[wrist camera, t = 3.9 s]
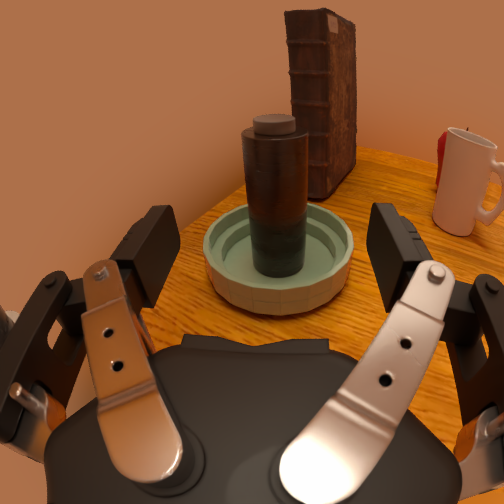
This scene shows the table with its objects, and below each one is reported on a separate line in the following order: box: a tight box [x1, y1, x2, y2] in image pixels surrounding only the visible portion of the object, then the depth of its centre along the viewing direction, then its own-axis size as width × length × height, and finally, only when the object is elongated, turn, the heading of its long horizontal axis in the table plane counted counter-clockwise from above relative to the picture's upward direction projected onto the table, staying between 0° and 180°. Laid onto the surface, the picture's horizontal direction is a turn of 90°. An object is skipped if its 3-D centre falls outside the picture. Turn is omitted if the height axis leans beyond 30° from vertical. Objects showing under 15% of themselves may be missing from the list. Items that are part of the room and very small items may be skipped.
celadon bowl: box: [203, 203, 354, 316], centre depth 26 cm, size 13×13×4 cm
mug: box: [432, 128, 504, 236], centre depth 26 cm, size 10×7×12 cm, turn 21°
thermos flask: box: [241, 114, 308, 278], centre depth 23 cm, size 5×5×13 cm
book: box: [284, 8, 357, 199], centre depth 35 cm, size 17×7×25 cm, turn 144°
